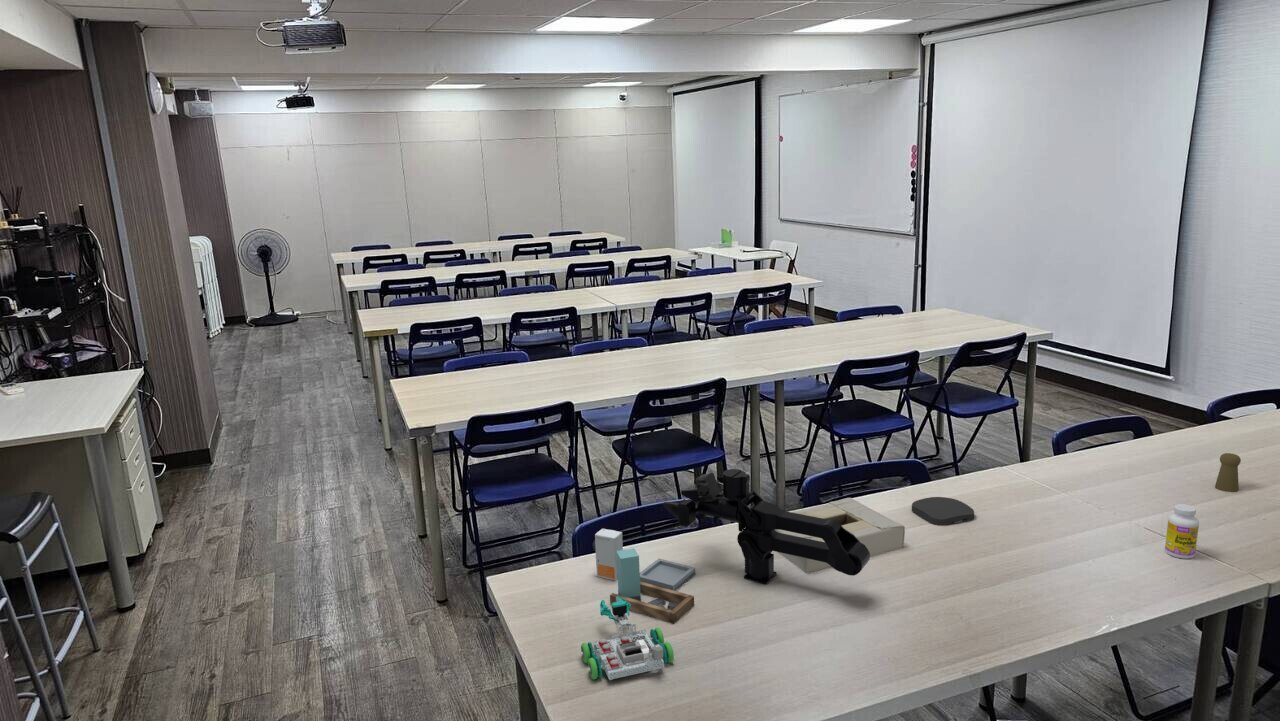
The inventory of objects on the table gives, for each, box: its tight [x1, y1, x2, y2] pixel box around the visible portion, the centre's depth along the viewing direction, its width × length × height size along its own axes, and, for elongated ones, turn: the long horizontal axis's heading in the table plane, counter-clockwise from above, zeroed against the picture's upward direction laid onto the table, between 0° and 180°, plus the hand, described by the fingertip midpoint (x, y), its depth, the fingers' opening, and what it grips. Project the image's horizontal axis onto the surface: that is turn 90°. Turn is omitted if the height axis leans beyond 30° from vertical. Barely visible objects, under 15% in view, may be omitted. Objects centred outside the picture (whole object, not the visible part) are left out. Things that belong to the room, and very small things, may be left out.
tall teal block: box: [616, 547, 642, 601], centre depth 204 cm, size 5×5×12 cm
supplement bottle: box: [1164, 503, 1200, 560], centre depth 215 cm, size 7×7×13 cm
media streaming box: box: [911, 496, 975, 526], centre depth 247 cm, size 15×15×3 cm
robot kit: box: [580, 596, 675, 681], centre depth 183 cm, size 19×25×9 cm
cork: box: [1214, 452, 1241, 493], centre depth 256 cm, size 6×6×11 cm
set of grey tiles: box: [647, 597, 680, 610], centre depth 199 cm, size 9×7×1 cm
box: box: [775, 497, 906, 574], centre depth 230 cm, size 23×8×32 cm
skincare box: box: [594, 528, 624, 582], centre depth 216 cm, size 6×4×12 cm
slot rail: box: [609, 581, 695, 625], centre depth 202 cm, size 18×9×2 cm, turn 57°
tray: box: [640, 558, 696, 592], centre depth 214 cm, size 11×11×2 cm
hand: (672, 498), depth 224 cm, fingers open, 9 cm apart
